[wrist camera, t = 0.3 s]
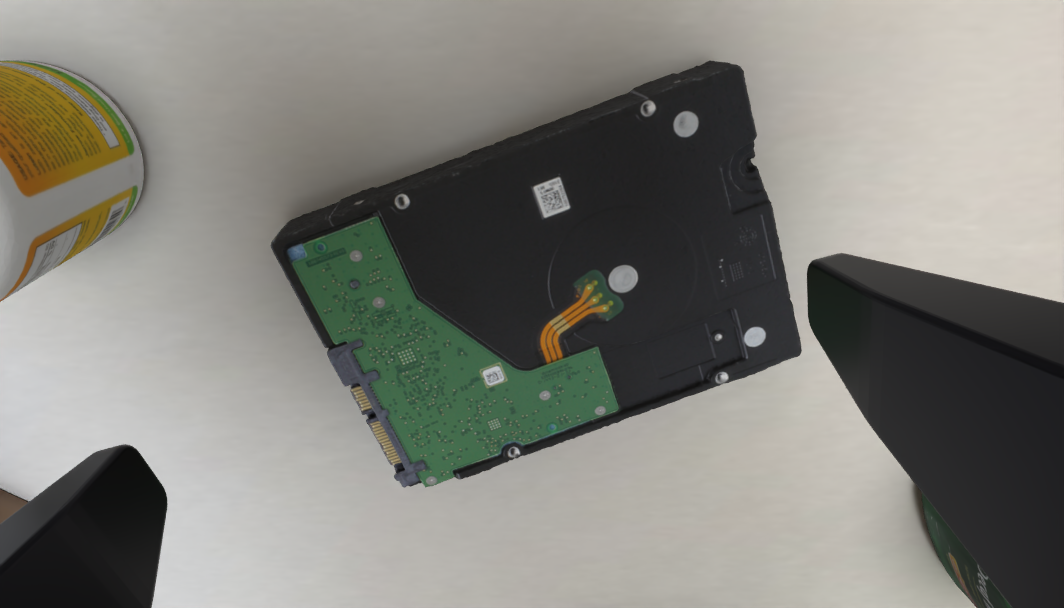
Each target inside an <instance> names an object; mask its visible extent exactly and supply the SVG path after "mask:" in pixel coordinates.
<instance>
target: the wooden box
mask: <svg viewBox="0 0 1064 608" xmlns="http://www.w3.org/2000/svg"><path fill="white" fill-rule="evenodd" d="M27 503H28V502H26V501H24V500H22V499H20V498H18V497H16V496H14V495H11V494H9V493H7V492H5V491H3V490H1V489H0V524H1V523H2V522H3V521H5V520H6V519H7V518H9V517H10V516H11V515H13V514H14V513H15V512H17V511H18V510H19V509H20V508H22V507H23V506H24V505H26V504H27Z"/></svg>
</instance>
